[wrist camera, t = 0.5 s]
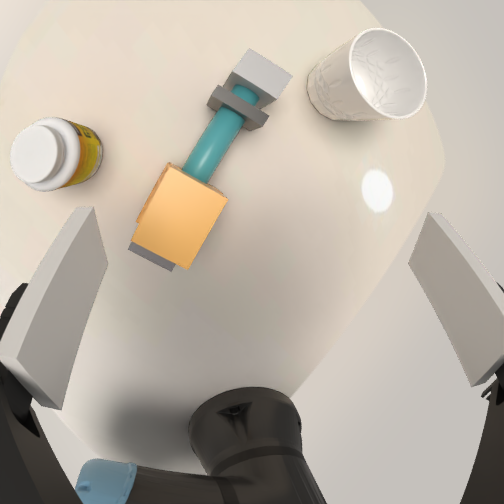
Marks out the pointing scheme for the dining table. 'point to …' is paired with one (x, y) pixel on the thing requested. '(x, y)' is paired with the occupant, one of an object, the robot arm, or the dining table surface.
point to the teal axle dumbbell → (230, 120)
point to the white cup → (369, 79)
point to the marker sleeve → (178, 216)
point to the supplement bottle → (55, 154)
